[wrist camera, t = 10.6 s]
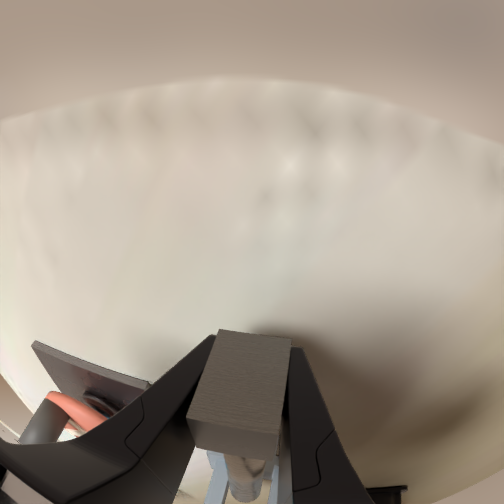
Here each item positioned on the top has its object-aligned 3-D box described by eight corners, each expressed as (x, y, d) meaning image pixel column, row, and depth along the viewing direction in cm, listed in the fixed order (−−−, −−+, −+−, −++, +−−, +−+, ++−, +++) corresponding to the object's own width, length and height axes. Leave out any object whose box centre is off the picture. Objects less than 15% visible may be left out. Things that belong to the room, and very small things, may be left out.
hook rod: (291, 338, 9) (278, 434, 6) (267, 471, 15) (259, 514, 13) (218, 328, 9) (185, 417, 6) (233, 466, 16) (222, 508, 13)
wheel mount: (147, 381, 16) (139, 397, 15) (177, 446, 21) (173, 458, 20) (35, 340, 17) (26, 351, 16) (82, 411, 22) (77, 421, 21)
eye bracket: (312, 438, 16) (302, 522, 11) (295, 473, 20) (285, 533, 15) (203, 422, 17) (176, 500, 12) (213, 460, 21) (196, 518, 16)
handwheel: (168, 445, 17) (142, 512, 12) (111, 440, 21) (87, 490, 16) (80, 375, 15) (34, 449, 10) (41, 383, 18) (7, 434, 13)
